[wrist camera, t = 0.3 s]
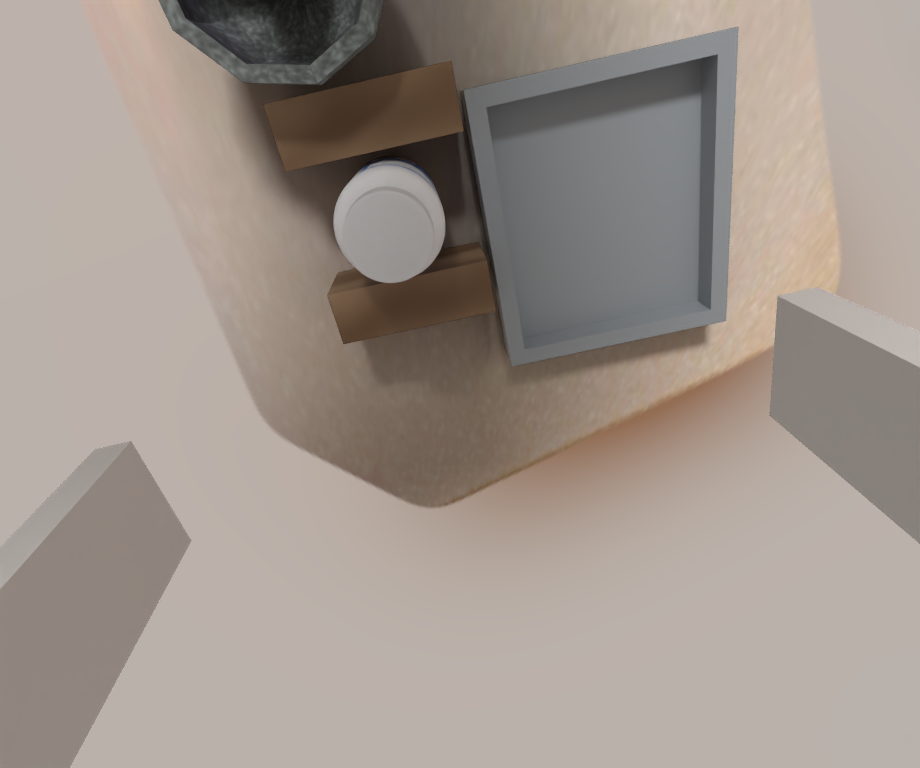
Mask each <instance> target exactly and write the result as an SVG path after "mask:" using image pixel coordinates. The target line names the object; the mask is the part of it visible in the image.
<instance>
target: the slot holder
mask: <svg viewBox="0 0 920 768" xmlns="http://www.w3.org/2000/svg"><path fill="white" fill-rule="evenodd" d="M263 106H264V109H265V112H266V115H267V118H268V121H269V124H270V127H271V130H272V133H273V136H274V139H275V142H276V145H277V148H278V151H279V154H280V157H281V160H282V163H283V166H284V169H285V172H287V171H291V170H296V169H300V168H305V167H309V166H313V165H318V164H322V163H326V162H331V161H335V160H340V159H344V158H348V157H353V156H357V155H362V154H366V153H370V152H375V151H379V150H383V149H388V148H392V147H397V146H401V145H405V144H410V143H414V142H419V141H423V140H427V139H432V138H436V137H441V136H445V135H449V134H454V133H458V132H462V131H464V129H463V124H462V118H461V113H460V107H459V102H458V96H457V90H456V85H455V79H454V74H453V68H452V62H451V61H448V62H443V63H439V64H435V65H430V66H426V67H422V68H417V69H413V70H409V71H405V72H400V73H396V74H392V75H387V76H383V77H379V78H374V79H370V80H366V81H362V82H357V83H353V84H349V85H344V86H340V87H336V88H331V89H327V90H323V91H318V92H314V93H310V94H306V95H301V96H297V97H293V98H288V99H284V100H280V101H275V102H271V103H267V104H263ZM327 296H328V299H329V302H330V305H331V308H332V311H333V314H334V317H335V320H336V323H337V326H338V329H339V332H340V335H341V338H342V341H343V344H347V343H352V342H356V341H361V340H365V339H370V338H375V337H379V336H384V335H388V334H393V333H398V332H402V331H407V330H411V329H416V328H421V327H425V326H430V325H435V324H439V323H444V322H448V321H453V320H458V319H462V318H467V317H471V316H476V315H481V314H485V313H490V312H494V311H496V308H495V302H494V297H493V291H492V286H491V280H490V275H489V269H488V263H487V259H486V257H485V255H484V253H483V250H482V248H481V246H480V244H479V242H475V243H470V244H466V245H461V246H457V247H452V248H448V249H443V250H440V252H439V254H438V255H437V257H436V258H435V260H434V261H433V262H432V264H431V265H430V266H429V267H428V268H426V269H425V270H424V271H423V272H421V273H419V274H418V275H416V276H414V277H412V278H410V279H408V280H405V281H402V282H397V283H383V282H379V281H375V280H373V279H370V278H368V277H366V276H365V275H363V274H362V273H361V272H360V271H358V270H357V269H353V270H348V271H344V272H339V273H338V274H337V276H336V278H335V280H334V282H333V284H332V286H331V289H330V291H329V293H328V295H327Z"/></svg>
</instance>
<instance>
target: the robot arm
mask: <svg viewBox="0 0 920 768" xmlns="http://www.w3.org/2000/svg"><path fill="white" fill-rule="evenodd" d="M771 387H772V388H771V401H770V416H771V417H772V418H773V419H774V420H776V421H777V422H778V423H779V424H780V425H781V426H783V427H784V428H785V429H786V430H787V431H789V432H790V433H791V434H792V435H793V436H794V437H795V438H797V439H798V440H799V441H800V442H801V443H802V444H804V445H805V446H806V447H807V448H808V449H810V450H811V451H812V452H813V453H814V454H815V455H816V456H818V457H819V458H820V459H821V460H822V461H823V462H825V463H826V464H827V465H828V466H829V467H831V468H832V469H833V470H834V471H835V472H836V473H838V474H839V475H840V476H841V477H842V478H844V479H845V480H846V481H847V482H848V483H849V484H851V485H852V486H853V487H854V488H855V489H856V490H857V491H859V492H860V493H861V494H862V495H863V496H865V497H866V498H867V499H868V500H869V501H870V502H871V503H873V504H874V505H875V506H876V507H877V508H878V509H880V510H881V511H882V512H883V513H885V514H886V515H887V516H888V517H889V518H890V519H891V520H893V521H894V522H895V523H896V524H897V525H898V526H900V527H901V528H902V529H903V530H904V531H906V532H907V533H908V534H909V535H910V536H912V538H914V539H915V540H916V541H917V542H918V543H919V544H920V331H918V330H916V329H913V328H911V327H909V326H906V325H904V324H902V323H900V322H897V321H895V320H893V319H890V318H888V317H886V316H883V315H881V314H879V313H876V312H874V311H872V310H869V309H867V308H865V307H862V306H860V305H858V304H855V303H853V302H851V301H848V300H846V299H844V298H841V297H839V296H837V295H834V294H832V293H830V292H827V291H825V290H823V289H820V288H818V287H816V288H811V289H807V290H802V291H798V292H793V293H789V294H784V295H780V296H778V299H777V314H776V328H775V343H774V357H773V373H772V386H771ZM190 542H191V539H190V538H189V536H188V534H187V533H186V531H185V529H184V528H183V526H182V524H181V523H180V521H179V520H178V518H177V516H176V515H175V513H174V511H173V510H172V508H171V506H170V505H169V503H168V501H167V500H166V498H165V496H164V495H163V493H162V492H161V490H160V488H159V487H158V485H157V483H156V482H155V480H154V478H153V477H152V475H151V473H150V472H149V470H148V468H147V467H146V465H145V463H144V462H143V460H142V459H141V457H140V455H139V453H138V452H137V450H136V449H135V447H134V445H133V444H132V442H131V441H130V442H126V443H121V444H117V445H113V446H108V447H103V448H99V449H95V450H94V451H93V452H92V453H91V454H90V455H89V456H88V457H87V459H85V460H84V461H83V462H82V463H81V465H80V466H78V468H77V469H76V470H75V471H74V472H73V473H72V474H71V475H70V476H69V477H68V478H67V479H66V480H65V481H64V482H63V483H62V484H61V485H60V486H59V487H58V488H57V489H56V490H55V491H54V492H53V493H52V494H51V495H50V497H48V498H47V499H46V500H45V502H44V503H43V504H42V505H41V506H40V507H39V508H38V509H37V510H36V511H35V512H34V513H33V514H32V515H31V516H30V517H29V518H28V519H27V520H26V521H25V522H24V523H23V524H22V525H21V526H20V527H19V528H18V529H17V530H16V531H15V532H14V533H13V534H12V535H11V537H10V538H9V539H8V540H7V541H6V542H5V543H4V544H3V545H2V546H1V547H0V768H70V766H71V764H72V762H73V760H74V759H75V757H76V755H77V753H78V751H79V749H80V748H81V746H82V744H83V742H84V740H85V738H86V736H87V735H88V733H89V731H90V729H91V727H92V725H93V723H94V721H95V720H96V718H97V716H98V714H99V712H100V710H101V708H102V707H103V705H104V703H105V701H106V699H107V697H108V695H109V693H110V692H111V689H112V688H113V686H114V684H115V682H116V680H117V678H118V677H119V675H120V673H121V671H122V669H123V667H124V666H125V663H126V662H127V660H128V658H129V656H130V654H131V652H132V650H133V649H134V647H135V645H136V643H137V641H138V639H139V637H140V636H141V634H142V632H143V630H144V628H145V626H146V624H147V623H148V621H149V619H150V617H151V615H152V613H153V611H154V610H155V608H156V606H157V604H158V602H159V600H160V598H161V596H162V594H163V593H164V591H165V589H166V587H167V585H168V583H169V582H170V580H171V578H172V576H173V574H174V572H175V570H176V568H177V567H178V564H179V563H180V561H181V559H182V557H183V555H184V553H185V552H186V550H187V548H188V546H189V544H190Z"/></svg>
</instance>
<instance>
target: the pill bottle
mask: <svg viewBox="0 0 920 768" xmlns="http://www.w3.org/2000/svg"><path fill="white" fill-rule="evenodd" d="M333 222H334V232H335V237H336V240H337V243H338V245H339V247H340V249H341V251H342V253H343V255H344V256H345V257H346V259H347V260H348V261H349V262H350V263H351V264H352V265H353V266H354V267H355V268H356V269H357V270H358V271H360V272H361V273H362V274H363V275H365V276H366V277H368V278H370V279H373V280H375V281H379V282H383V283H397V282H402V281H405V280H408V279H410V278H412V277H414V276H416V275H418V274H419V273H421V272H423V271H424V270H425V269H426V268H428V267H429V266H430V265H431V264H432V262H433V261H434V260H435V258H436V257H437V255H438V254H439V252H440V249H441V247H442V244H443V241H444V237H445V216H444V211H443V207H442V204H441V201H440V199H439V196H438V193H437V190H436V188H435V185H434V183H433V182H432V180H431V178H430V177H429V176H428V174H427V173H426V172H425V171H424V170H423V169H422V168H421V167H420V166H418V165H417V164H416V163H414V162H412V161H410V160H408V159H404V158H400V157H395V156H389V157H388V156H387V157H382V158H378V159H375V160H373V161H371V162H369V163H367V164H366V165H365V166H363V167H362V168H361V169H360V170H359V171H358V172H357V173H356V174H355V176H354V177H353V178H352V179H351V181H350V182H349V183H348V184H347V185H346V186H345V188H344V189H343V191H342V192H341V194H340V196H339V198H338V200H337V203H336V206H335V211H334V219H333Z"/></svg>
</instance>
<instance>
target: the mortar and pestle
mask: <svg viewBox="0 0 920 768" xmlns="http://www.w3.org/2000/svg"><path fill="white" fill-rule="evenodd" d="M159 2H160V4H161V7H162V9H163V11H164V13H165V15H166V17H167V19H168V21H169V23H170V25H171V27H172V30H173V31H175V32H176V33H177V34H179V35H180V36H181V37H183V38H184V39H185V40H187V41H188V42H189V43H191V44H192V45H194V46H195V47H196V48H198V49H199V50H200V51H202V52H203V53H204V54H206V55H207V56H208V57H210V58H211V59H212V60H214V61H215V62H217V63H218V64H219V65H221V66H222V67H223V68H225V69H226V70H227V71H229V72H230V73H231V74H233V75H234V76H235V77H237V78H238V79H239V80H241V81H242V82H244V83H250V84H293V85H323V84H324V83H325V82H326V81H327V80H328V79H330V78H331V77H332V76H333V75H334V74H335V73H336V72H338V71H339V70H340V69H341V68H342V67H343V66H345V65H346V64H347V63H348V62H349V61H350V60H351V59H353V58H354V57H355V56H356V55H357V54H358V53H359V52H361V51H362V50H363V49H364V48H365V47H366V46H367V45H369V44H370V43H371V42H372V41H373V40H374V39H375V38H376V33H377V29H378V24H379V20H380V16H381V11H382V7H383V2H384V0H159Z"/></svg>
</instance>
